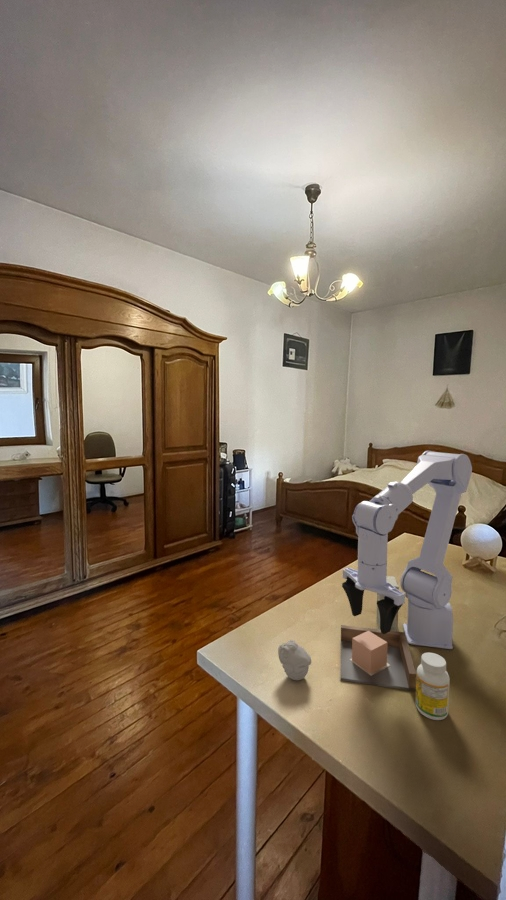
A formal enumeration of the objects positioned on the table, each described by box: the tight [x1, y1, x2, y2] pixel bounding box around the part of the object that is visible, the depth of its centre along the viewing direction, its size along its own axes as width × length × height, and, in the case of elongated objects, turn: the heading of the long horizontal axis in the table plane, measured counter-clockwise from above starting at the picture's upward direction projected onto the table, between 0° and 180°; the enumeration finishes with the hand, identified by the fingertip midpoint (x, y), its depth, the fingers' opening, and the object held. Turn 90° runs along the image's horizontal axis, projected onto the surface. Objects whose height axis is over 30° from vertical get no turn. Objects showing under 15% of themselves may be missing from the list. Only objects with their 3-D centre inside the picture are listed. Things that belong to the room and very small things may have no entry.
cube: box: [352, 631, 388, 674], centre depth 80 cm, size 5×5×5 cm
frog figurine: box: [277, 639, 312, 681], centre depth 77 cm, size 6×7×7 cm
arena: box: [339, 624, 417, 692], centre depth 81 cm, size 14×14×4 cm
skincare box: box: [376, 575, 400, 632], centre depth 93 cm, size 6×4×12 cm
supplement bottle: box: [415, 651, 451, 721], centre depth 68 cm, size 5×5×10 cm
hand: (370, 622), depth 79 cm, fingers open, 7 cm apart
